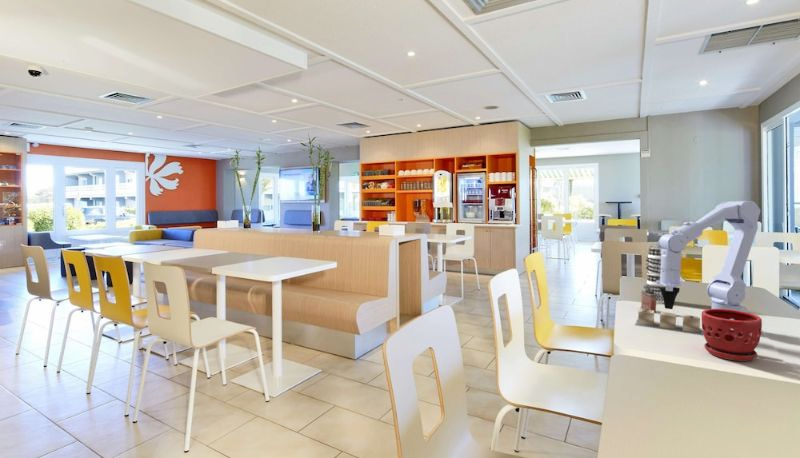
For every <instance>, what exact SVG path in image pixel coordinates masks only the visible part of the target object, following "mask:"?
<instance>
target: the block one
mask: <svg viewBox="0 0 800 458" xmlns="http://www.w3.org/2000/svg"><path fill="white" fill-rule="evenodd" d="M700 325H701V318H700V316H697V315H691V314H683V315H682V326H683V331H689V332H695V333H699V330H700V328H701V326H700Z"/></svg>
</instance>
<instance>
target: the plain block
mask: <svg viewBox="0 0 800 458" xmlns="http://www.w3.org/2000/svg"><path fill="white" fill-rule="evenodd" d="M659 317H660V318H659V319H660V320H659V323H660V327H662V328H668V329H675V330H676V325H677V313H674V312H669V311H668V312H666V311H660V315H659Z"/></svg>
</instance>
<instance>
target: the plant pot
mask: <svg viewBox="0 0 800 458" xmlns="http://www.w3.org/2000/svg"><path fill="white" fill-rule="evenodd" d="M729 319H734V320H729ZM762 327H763V320H762V317H760V315H759V316H758V315H757V314H754V313H750V312H748V313H747V312H742V311H736V310H728V309H711V308H708V309H704V310H702V311H701V330H702V335H703V337H704V339H705V341H706V343H704V344H703V345H704V349H705V350H706V352H708V353H709V354H711V355H712V356H715V357H718V358H720V359H724V360H725V359H726V360H730V361H738V362H747V361H748V362H749V361H753V360H754V359H756V358H757V356H758V352H757V351H755V349H756V348H757V346H758V345H759V343H760V340H761V336H762ZM731 329H733V330H731Z"/></svg>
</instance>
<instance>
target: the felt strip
mask: <svg viewBox="0 0 800 458" xmlns="http://www.w3.org/2000/svg"><path fill="white" fill-rule="evenodd" d="M634 326H638V327H644V328H651V329H657V330H664V331H671V332H676V333H685V334H689V335H690V334H691V335H697V336H703V330H702V327H700V330H699V333H695V332H689V331H683V325H679V324H676V330H675V329H668V328H662V327H660V321H659V322H658V321H654V324H653V326H648V325H641V324H638V318H637V319H636V320H635V323H634Z"/></svg>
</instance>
